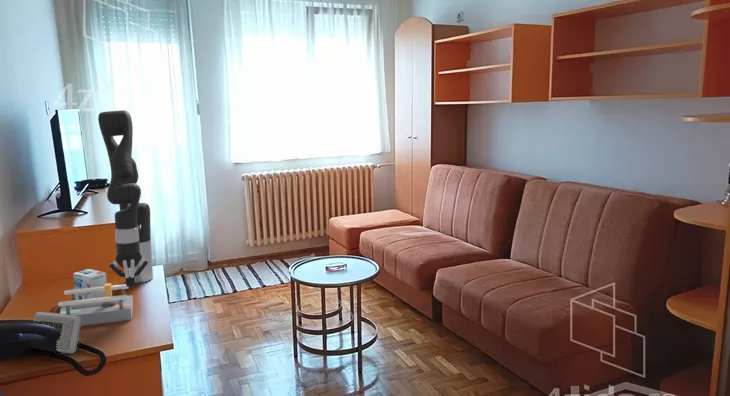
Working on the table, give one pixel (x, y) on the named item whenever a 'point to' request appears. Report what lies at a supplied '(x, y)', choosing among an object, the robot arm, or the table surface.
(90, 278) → the light bulb box
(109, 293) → the breaker toggle
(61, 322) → the digital clock
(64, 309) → the breaker panel
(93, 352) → the table surface
